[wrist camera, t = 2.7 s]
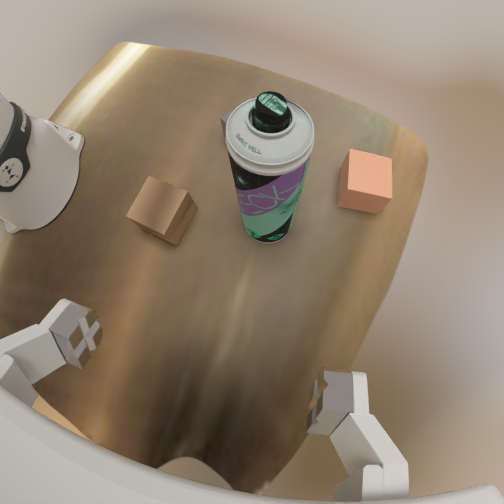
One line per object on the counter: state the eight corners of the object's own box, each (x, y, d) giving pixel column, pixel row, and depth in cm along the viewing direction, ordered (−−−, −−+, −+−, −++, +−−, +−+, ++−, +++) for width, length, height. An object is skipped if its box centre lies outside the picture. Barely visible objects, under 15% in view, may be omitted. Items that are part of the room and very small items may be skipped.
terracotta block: (337, 206, 34) (347, 188, 29) (339, 169, 35) (349, 148, 30) (376, 214, 34) (392, 198, 29) (377, 177, 35) (391, 158, 30)
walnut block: (143, 229, 35) (125, 216, 30) (162, 193, 35) (148, 175, 31) (177, 246, 34) (164, 234, 29) (197, 208, 35) (187, 191, 30)
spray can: (245, 196, 35) (226, 67, 15) (293, 200, 34) (320, 73, 15) (240, 241, 34) (210, 140, 14) (290, 246, 33) (323, 148, 14)
